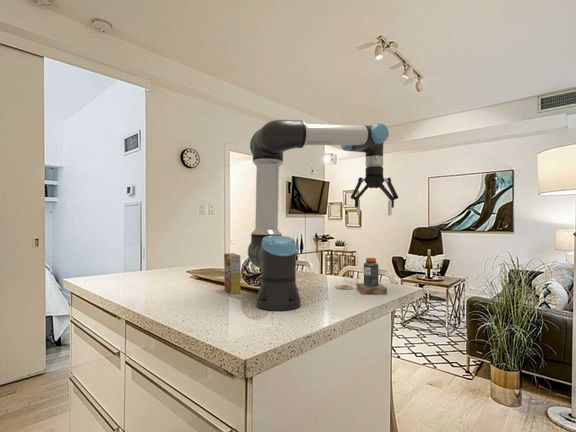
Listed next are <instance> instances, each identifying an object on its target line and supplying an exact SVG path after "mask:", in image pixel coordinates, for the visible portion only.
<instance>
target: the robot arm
mask: <svg viewBox="0 0 576 432" xmlns="http://www.w3.org/2000/svg"><path fill="white" fill-rule="evenodd" d="M389 135H390V134H389V128H388V127H387V125H386V124H384V123H383V122H377V123H374V124H370V125H365V124H364V125H363V124H360V125H359V124H358V125H357V124H355V125H354V124H352V125H351V124H331V123H330V124H325V123H324V124H323V123H306V122H305V121H304V120H302V119H301V120H299V119H297V120H296V119H295V120H293V119H274V120H270V121H268V122H266V123H265V124H264V125H263V126H261V128H260V129H258V130H256V131H255V132H254V133H253V136H252V137H251V139H250V142H249V150H250V152H251V154H252V163H253V164H254V165H255V166H256V172H255V173H256V174H255V175H256V178H255V179H256V180H255V182H256V183H255V223H254V226H255V229H254V230H253V231H252V232H251V233H250V237H251V238H250V242H249V245H248V246H247V256H248V259H249V261H250V262H251V263H252V264H253V265H254V266H255V267H257V268H259V269H261V283H260V286H259V290H258V293H257V296H256V301H255V302H256V303H255V305H256V307H257V308H259V309H262V310H267V311H275V312H276V311H277V312H278V311H279V312H281V311H290V310H291V311H292V310H295V309H299V308H300V307H301V305H302V304H301V296H300V291H299V289H298V287H297V280H296V279H297V278H296V277H297V272H296V271H297V270H296V269H297V243H296V240H295V239H294V238H293V237H290V236H284V235H282V232H281V231H280V230H279V185H280V184H279V179H280V175H279V174H280V167H281V166H282V165H283V164H284V152H287V151H289V150H293V149H303V148H304V147H305V146H341V147H340V148H341V149H342V151H346V152H355V153H365V177H364V178H363V177H359V178H358V179H357V184H356V185H355V188H354V190H353V192H352V194H351V195H350V199H352V200H354V207H355V208H356V214H357V215H356V216H360V215H361V200H360V199H361V197H362V196H363V195H364V193H365V192H366V191H367V190H368V189H369V188H370V189H378V188H379V189H380V191H382V192H383V194H384V195H385V196H386V197H387V199H388V202H387V216H392V215H393V211H392V210H393V208H395V200H397V199H399V195H398V193H397V192H396V190H395V187H394V186H393V183H392V179H391V177H387V178H384V143H385V142H386V141H387V140H388V138H389ZM384 182H385V184H386V185H387V187H388V189H389V190H388V189H387V188H386V187H385V185H384ZM363 183H365V184H366V185H365V186H364V187H363V188H362V190H361V191H360V192H359V193H358V191H359V189H360V186H362V184H363ZM389 191H390V192H389ZM357 193H358V194H357Z"/></svg>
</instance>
